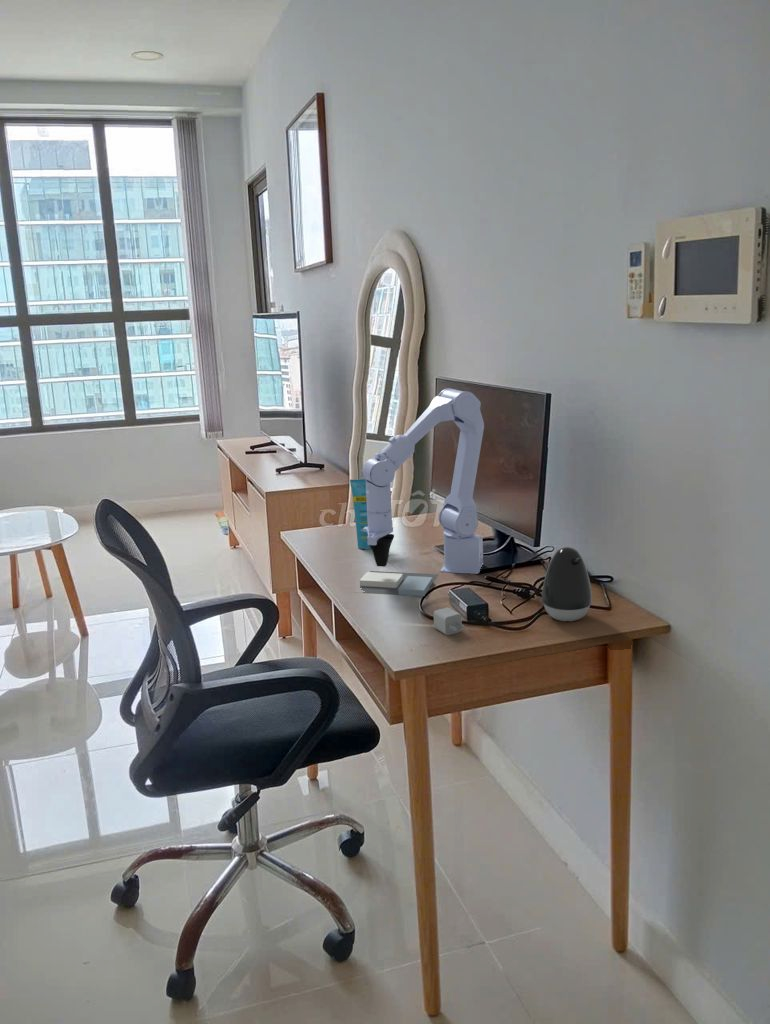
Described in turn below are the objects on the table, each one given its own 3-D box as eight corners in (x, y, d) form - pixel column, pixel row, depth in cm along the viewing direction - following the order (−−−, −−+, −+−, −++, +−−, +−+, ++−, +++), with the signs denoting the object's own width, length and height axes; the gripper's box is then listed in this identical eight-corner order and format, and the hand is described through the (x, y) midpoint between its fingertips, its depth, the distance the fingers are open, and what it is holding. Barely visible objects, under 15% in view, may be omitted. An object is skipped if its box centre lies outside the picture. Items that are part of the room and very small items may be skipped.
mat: (438, 575, 205) (438, 574, 205) (424, 597, 191) (423, 596, 191) (370, 572, 210) (370, 570, 210) (352, 593, 196) (352, 592, 196)
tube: (355, 551, 227) (351, 481, 222) (352, 546, 232) (348, 477, 227) (382, 548, 229) (379, 478, 224) (378, 543, 233) (375, 474, 228)
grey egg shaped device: (556, 629, 171) (557, 558, 167) (533, 611, 181) (533, 543, 177) (601, 622, 174) (603, 551, 170) (576, 605, 183) (577, 537, 179)
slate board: (407, 581, 201) (407, 575, 201) (432, 582, 200) (432, 577, 199) (398, 594, 193) (398, 588, 192) (423, 596, 191) (423, 590, 191)
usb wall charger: (450, 624, 176) (449, 606, 175) (469, 635, 170) (468, 617, 169) (433, 628, 174) (433, 610, 173) (452, 640, 168) (451, 621, 167)
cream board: (402, 573, 202) (396, 582, 197) (403, 579, 203) (396, 588, 197) (366, 571, 205) (359, 580, 199) (367, 577, 205) (359, 585, 200)
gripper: (371, 501, 205) (374, 555, 209) (353, 517, 192) (356, 574, 195) (399, 502, 203) (401, 556, 207) (383, 518, 190) (386, 576, 193)
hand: (381, 565), depth 201 cm, fingers closed
